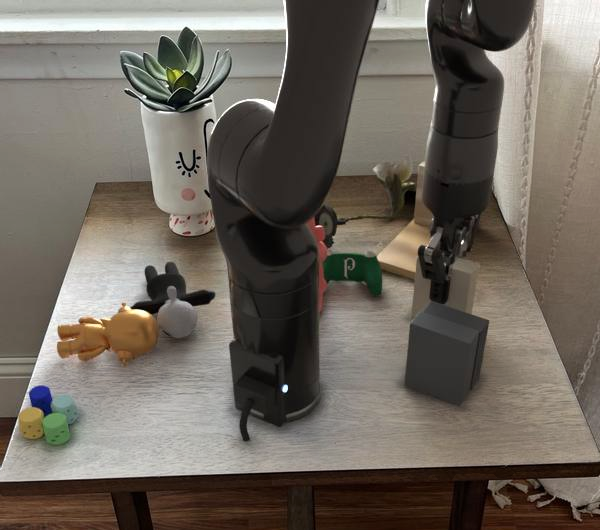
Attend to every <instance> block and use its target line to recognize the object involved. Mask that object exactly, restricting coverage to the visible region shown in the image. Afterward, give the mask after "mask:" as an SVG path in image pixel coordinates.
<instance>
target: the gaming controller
mask: <svg viewBox="0 0 600 530" xmlns="http://www.w3.org/2000/svg"><path fill="white" fill-rule="evenodd" d="M327 251H328V254H327V257H326V259H325V260H324V261H323V262H322V266H323V273H324V279H325V281H326V283H327V285H328V284H329V283H330V282H331V281H333V282H356V283H362V282H364V283H365V285H366V286H367V289H368V291H369V294H370V295H371V296H372V297H379V296H381V295H382V293H383V292H382V291H383V271H382V269H381V268H380V264H379V261H378V259H377V256H378V255H376V253H375V252H373V251H372V250H367V251H365V253H360V252H333V250H331V249H327Z"/></svg>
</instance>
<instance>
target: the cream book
mask: <svg viewBox="0 0 600 530" xmlns="http://www.w3.org/2000/svg"><path fill="white" fill-rule="evenodd" d="M444 266H445V268H446V263H445V262H444ZM479 269H480V263H478V262H475V261H472V260H469V259H462V258H459V259H458V260H457V261H456V262H455V263H454V264H453V269H452V276H451V281H450V289H449V297H448V301H447V302H446V303H445V304H442V305H445V306H448V307H451V308H454V309H457V310H460V311H463V312H466V313H469V314H472V315H473V308H474V302H475V296H476V289H477V282H478V276H479ZM430 285H431V280H429V279H425V278H423V277H422V272H421V267H420V263H419V258H418V257H417V261H416V272H415V280H414V285H413V295H412V306H411V315H410V317H411V318H412V319H414V318H415V317H416V316H417V314H418V313H419V312H423V310H424V309H425V308H426V307H427V306H428V304H429V303H430V302H431V300H430V298H429V294H430ZM432 302H433V301H432ZM435 303H436V302H435ZM438 304H439V303H438Z"/></svg>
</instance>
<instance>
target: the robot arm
mask: <svg viewBox="0 0 600 530" xmlns="http://www.w3.org/2000/svg"><path fill="white" fill-rule="evenodd" d="M380 1H381V0H283V7H284V17H285V27H286V28H285V30H286V31H285V32H286V49H285V50H286V52H285V60H284V68H283V71H282V72H283V73H282V78H281V82H280V87H279V89H278V95H277V98H276V102H275V103H273V102H271V101H269V100H265V99H260V98H252V99H245V100H241V101H238V102H236V103H234V104H232V105H231V106H230V107H229V108H228V109H226V110H225V111H224V112H223V113H222V115H220V117H219V118H218V120H217V121H216V123H215V125H214V126H213V129H212V131H211V134H210V137H209V141H208V146H207V153H206V172H207V182H208V189H209V196H210V203H211V204H210V205H211V211H212V217H213V225H214V230H215V235H216V240H217V242H218V245H219V247H220V250H221V252H222V254H223V256H224V258H225V262H226V269H227V271H226V272H227V280H228V291H229V303H230V313H231V314H230V315H231V324H232V336H233V339H232V340H231V341H230V342H229V343H228V350H229V359H230V370H231V380H232V390H233V400H234V409H236V410H238V411H240V412H241V413H240V417H239V425H238V426H239V433H240V435H241V438H242V441H243V442H245V443H247V442H249V441H250V440H251V437H250V433H249V431H248V419H249V416H252V417H253V418H254V419H258V420H261V421H263V422H266V423H268V424H271V425H272V426H275V427H277V428H282V427H283V426H284V425H285V424H286V423H287V422H292V421H294V420H298V419H301V418H303V417H305V416H307V415H308V414H310V413H312V412H313V410H314V409H315V408H316V407H317V405H318V404H319V402H320V400H321V393H322V391H321V380H320V378H321V377H320V374H321V373H320V372H321V371H320V369H321V367H320V366H321V365H320V312H319V247H318V243H317V240H316V238H315V236H314V234H313V232H312V231H311V229H310V228H309V226H308V225H307V222H309V221H310V220H311V219H312V218H313V217H314V216H315V215H316V214H317V213H318V212H319V210H320V209H321V207H322V206H323V205H324V203H326V201H327V200H328V197H329V195H330V193H331V191H332V189H333V186H334V183H335V180H336V178H337V174H338V171H339V168H340V163H341V159H342V154H343V150H344V149H343V148H344V145H345V142H346V141H345V139H346V136H347V131H348V126H349V120H350V117H351V116H350V115H351V112H352V107H353V103H354V98H355V93H356V88H357V85H358V81H359V75H360V71H361V68H362V65H363V60H364V57H365V54H366V50H367V46H368V43H369V40H370V36H371V33H372V30H373V26H374V22H375V18H376V15H377V13H378V12H377V11H378V8H379V6H380V5H379V4H380ZM535 7H536V0H426V2H425V9H424V10H425V27H426V28H425V29H426V36H427V43H428V52H429V57H430V66H431V69H432V76H433V79H434V90H433V99H432V108H431V109H432V110H431V119H430V120H431V121H430V127H429V131H428V136H427V140H426V145H425V147H426V148H425V156H424V157H425V158H424V160H425V168H424V179H423V189H422V201H423V203H424V205H425V206H426V208H427V209H429V210H430V212H431V213H432V214H433V216H434V218H433V219H432V221H431V223H430V229H429V233H430V242H429V244H428V246H425V245H420V247H419V248H418V258H419V263H420V267H421V272H422V277H423V278H425V279H429V280H431V285H430V294H429V298H430V300H431V301H433V302H436V303H439V304H445V303H446V302H447V301H448V297H449V289H450V281H451V276H452V269H453V264H454V263H455V262H456V261H457V260H458V259H459V258H462V259H465V260H467V253H470V252H471V250H472V249H473V245H474V241H475V237H476V234H477V231H478V227H479V224H480V221H481V217H482V214H483V212H484V211H485V210H487V209H488V207H489V204H490V202H491V196H492V190H493V189H492V188H493V182H494V176H495V175H494V174H495V169H496V164H497V156H498V148H499V129H500V128H499V126H500V121H501V113H502V107H503V101H504V95H505V78H504V75H503V73H502V72H501V70H500V69H499V68H498V66H496V64H494V62H492V61H491V59H489V57H488V55H487V53H486V51H487V52H493V53H497V52H498V53H499V52H503V51H507V50H509V49H511V48H513V47H514V46H515V45H516V44H519V42H520V41H521V40H522V38H523V37H524V35H525V34H526V33H527V32H528V29H529V28H530V25H531V22H532V20H533V17H534V13H535ZM444 262H445V263H446V268H445V266H444Z"/></svg>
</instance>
